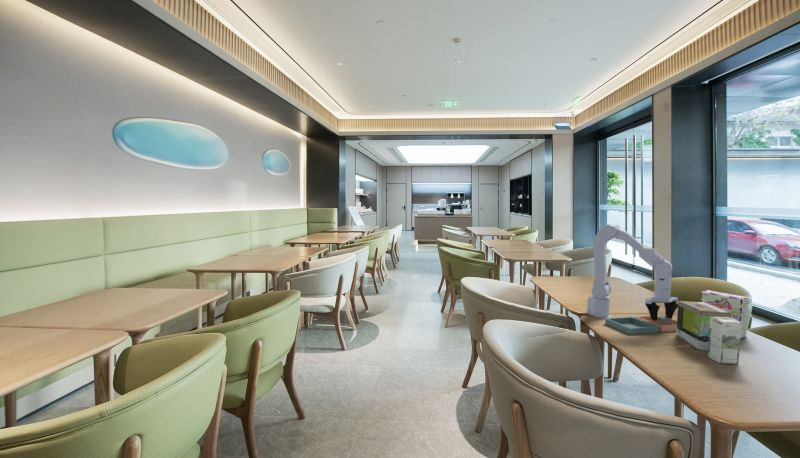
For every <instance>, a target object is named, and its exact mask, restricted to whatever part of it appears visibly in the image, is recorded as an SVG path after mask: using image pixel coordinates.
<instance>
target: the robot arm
mask: <svg viewBox="0 0 800 458" xmlns="http://www.w3.org/2000/svg"><path fill="white" fill-rule="evenodd" d="M612 239H614V240H619V241H624V242H625V243H626V244H628V246H630V247H631V248H633V250H635V251H636V252H638V257H639V258H640V259H641V260H643V261H644V262H646V264H648V266H650V267H652V268H653V270H654V272H655V277H654V287H653V290H654V291H653V292H654V293H653V296H654V297H649V298H645V302H644V303H645V307H646V308H647V310H648V312H649V316H650V317H651V319H652V320H655V321H656V320H657V315H659V310H660V308H661V306H660V305H658V304H663V305H664V309H665V312H664V313H665V316H666V317H669V318H671V319H673V317H674V314H675V312H676V310H678V301H679V298H678V297H675V296H671V294H672V272H671V271H673V264H672V263H671V262H670V260H668V259H666V258H665V256H661V255H660V254H659V253H658V252H656V251H657V250H656V249H655V248H654V247H653V248H651V247H649V246H644V245H643V244H641V242H639V240H637V239H636V238H635V237H634V236H632V235H631V234H630V233H629V232H628V231H626V230H625V229H624V228H622V227H620V225H618V224H615V223H610V224H604V225H603V226H602V227H600V228H599V229H598V232H597V233H596V235H595V236H594V238H593V240H592V249H593V266H594V267H593V268H594V269H593V270H594V271H593V272H594V279H593V283H592V284H593V285H592V288H591V295H590V296H588V298H587V304H586V305H587V306H586V308H587V311H585V314H587V315H591V316H593V317H596V318H598V319H600V318H603V319H604V318H614V315H611V314H610V307H611V306H610V303H611V301H610V300H611V299H610V297H611V296H609V294H610V293H611V291H612V287H611V285H610V282H609V278H608V274H607V273H608V272H607V257H606V256H607V255H606V254H607V253H606V244H607V243H608V242H610V241H611V240H612Z"/></svg>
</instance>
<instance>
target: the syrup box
mask: <svg viewBox="0 0 800 458" xmlns="http://www.w3.org/2000/svg"><path fill="white" fill-rule="evenodd" d="M740 337H741V322H739V321H737V320H735V319H732V318H729V317H710V330H709V345H708V351H707V357H708V358H709V359H711V360H713V361H715V362H716V363H719V364H723V365H725V364H726V365H739V361H740V349H741V348H740V347H741V339H740Z"/></svg>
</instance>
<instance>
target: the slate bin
mask: <svg viewBox="0 0 800 458" xmlns="http://www.w3.org/2000/svg"><path fill="white" fill-rule="evenodd" d="M604 318H605V319H604V321H605V322H604V324H605V325H607V326H609V327H612V328H613V329H616V330H619V331H621V332H623V333H626V334H628V335H631V336H632V335H642V334H643V335H644V334H654V333H656V334H657V333H659V332H660V331H659V326H656V325H653V324H651V323H648V322H645V321H642V320H640V319H637V318H635V316H627V317H626V316H624V317H621V316H620V317H604Z"/></svg>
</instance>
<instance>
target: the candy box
mask: <svg viewBox="0 0 800 458" xmlns="http://www.w3.org/2000/svg"><path fill="white" fill-rule="evenodd" d="M749 300H750V297H748V296H742V295H737V294H731V293H726V292H720V291H714V290H709V289H707V290H702V291H701V292H700V302H705V303H708V304H711V305H713V306H716V307H718V308H721V309H723V310H726V311H729V312H731V318H732V319H735V320H737V321H739V322H741V337H740V340H743V339H745V338H747V330H748V327H747V326H748V313H749V304H750V303H749V302H750V301H749Z"/></svg>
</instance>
